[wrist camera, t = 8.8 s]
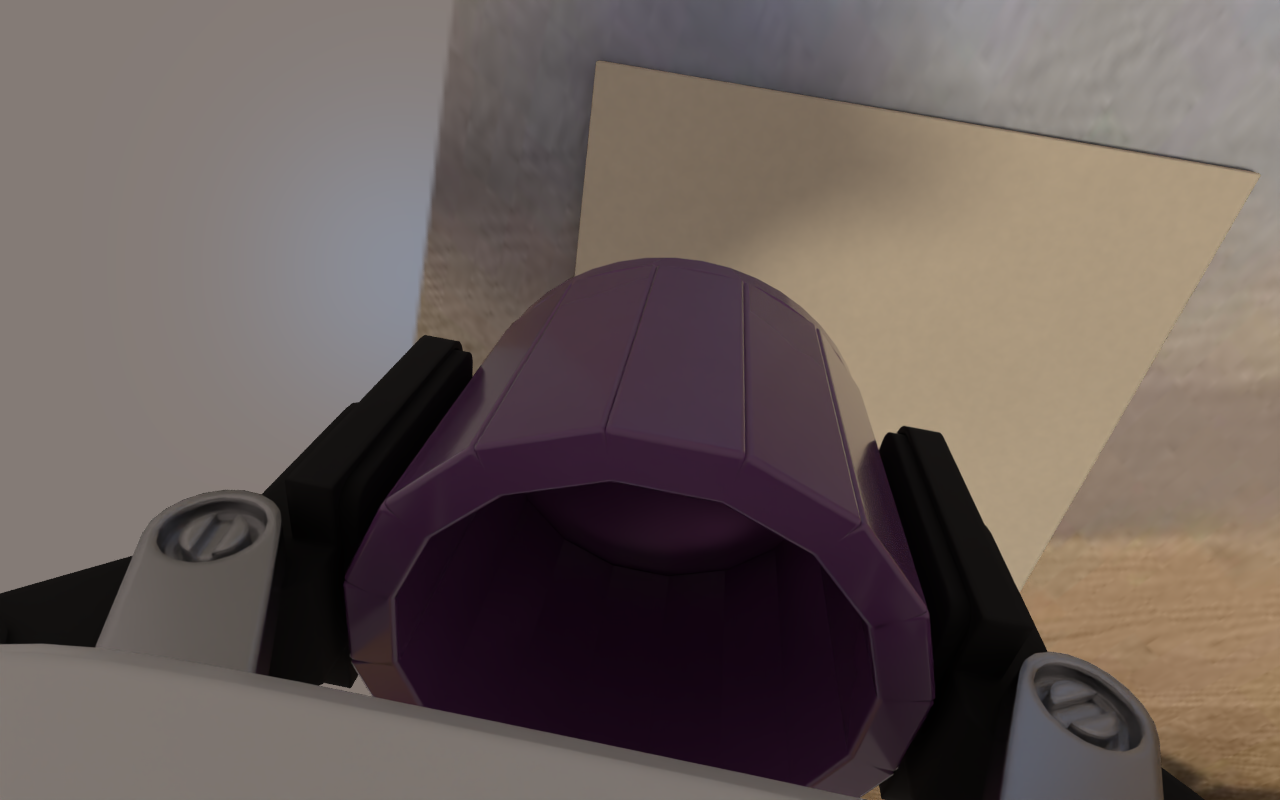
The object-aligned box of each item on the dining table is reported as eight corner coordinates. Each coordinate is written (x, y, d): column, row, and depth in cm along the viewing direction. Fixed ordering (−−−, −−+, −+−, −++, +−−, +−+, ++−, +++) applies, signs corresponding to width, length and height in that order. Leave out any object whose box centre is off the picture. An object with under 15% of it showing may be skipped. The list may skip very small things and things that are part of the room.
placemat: (548, 545, 32) (546, 551, 31) (598, 60, 22) (595, 60, 21) (990, 631, 31) (993, 638, 31) (1253, 171, 21) (1262, 174, 21)
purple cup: (480, 541, 14) (360, 788, 9) (492, 221, 10) (319, 372, 6) (803, 605, 13) (833, 890, 9) (917, 298, 10) (1046, 511, 6)
